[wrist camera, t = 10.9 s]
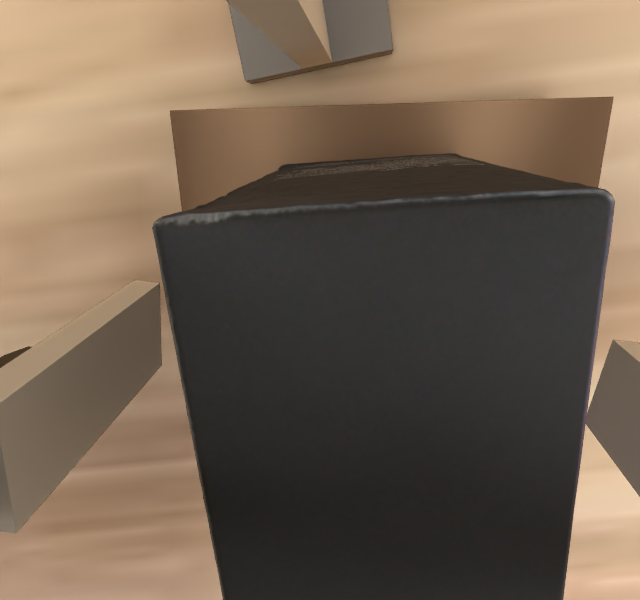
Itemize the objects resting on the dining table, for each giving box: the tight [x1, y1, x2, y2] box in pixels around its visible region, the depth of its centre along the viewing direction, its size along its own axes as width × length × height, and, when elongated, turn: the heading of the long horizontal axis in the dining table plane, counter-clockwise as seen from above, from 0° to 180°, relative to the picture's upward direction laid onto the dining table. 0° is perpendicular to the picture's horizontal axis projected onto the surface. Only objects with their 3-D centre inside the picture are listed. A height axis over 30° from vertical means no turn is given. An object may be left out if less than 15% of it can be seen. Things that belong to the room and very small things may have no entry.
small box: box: [152, 153, 615, 600], centre depth 12 cm, size 11×6×10 cm, turn 4°
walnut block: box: [170, 97, 613, 212], centre depth 20 cm, size 14×14×6 cm
